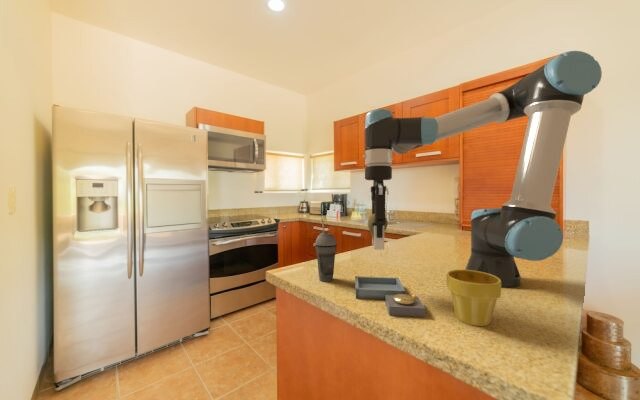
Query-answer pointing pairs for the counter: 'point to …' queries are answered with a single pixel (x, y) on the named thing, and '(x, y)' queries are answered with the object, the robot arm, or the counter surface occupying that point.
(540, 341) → the counter surface
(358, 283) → the tray
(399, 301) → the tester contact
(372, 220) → the light bulb
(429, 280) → the counter surface
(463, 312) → the plant pot
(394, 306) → the tester
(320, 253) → the beverage cup
